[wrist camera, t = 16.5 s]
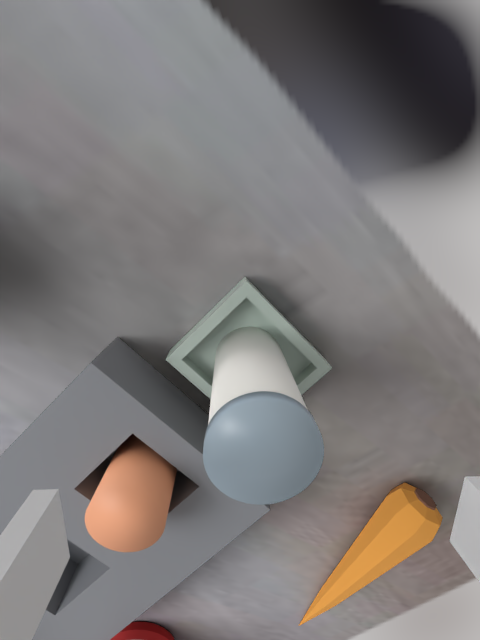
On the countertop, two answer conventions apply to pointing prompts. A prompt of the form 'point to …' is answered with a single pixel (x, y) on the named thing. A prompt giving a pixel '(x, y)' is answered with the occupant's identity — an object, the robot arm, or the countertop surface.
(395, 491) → the carrot
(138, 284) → the countertop surface
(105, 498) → the plunger
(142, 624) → the canned food
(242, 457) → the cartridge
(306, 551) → the countertop surface
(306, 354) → the tray
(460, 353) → the countertop surface
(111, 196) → the countertop surface
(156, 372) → the housing
